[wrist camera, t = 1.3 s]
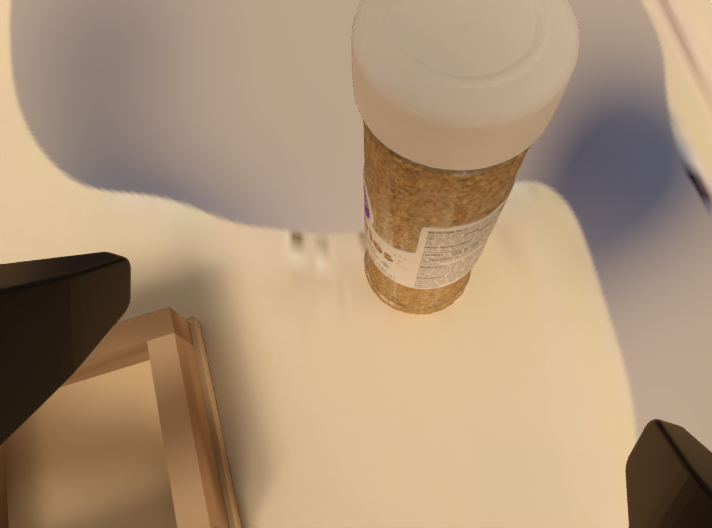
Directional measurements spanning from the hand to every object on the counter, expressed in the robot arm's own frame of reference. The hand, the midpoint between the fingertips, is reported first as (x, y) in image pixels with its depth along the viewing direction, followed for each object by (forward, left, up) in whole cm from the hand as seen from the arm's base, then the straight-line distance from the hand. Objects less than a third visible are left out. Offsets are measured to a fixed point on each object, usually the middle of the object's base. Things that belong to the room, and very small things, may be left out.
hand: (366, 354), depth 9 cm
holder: (+1, +10, -12) cm, 16 cm away
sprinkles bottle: (+5, -4, -13) cm, 14 cm away
